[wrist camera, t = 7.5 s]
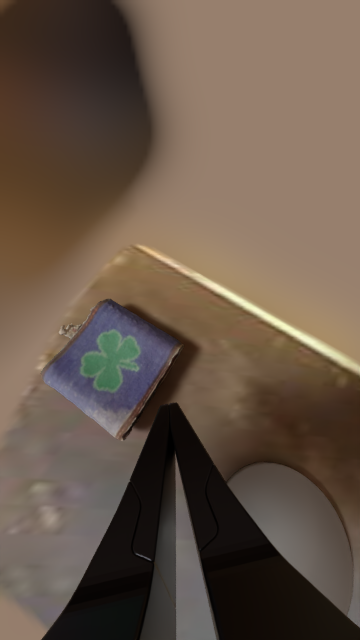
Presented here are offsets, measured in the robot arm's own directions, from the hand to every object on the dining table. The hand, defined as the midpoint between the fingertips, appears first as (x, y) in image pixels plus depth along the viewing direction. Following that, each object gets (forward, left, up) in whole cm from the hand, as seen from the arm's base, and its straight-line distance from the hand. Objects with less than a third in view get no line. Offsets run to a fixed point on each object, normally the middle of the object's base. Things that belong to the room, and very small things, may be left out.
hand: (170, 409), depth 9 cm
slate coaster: (-12, -3, -9) cm, 15 cm away
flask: (+1, +1, -7) cm, 7 cm away
